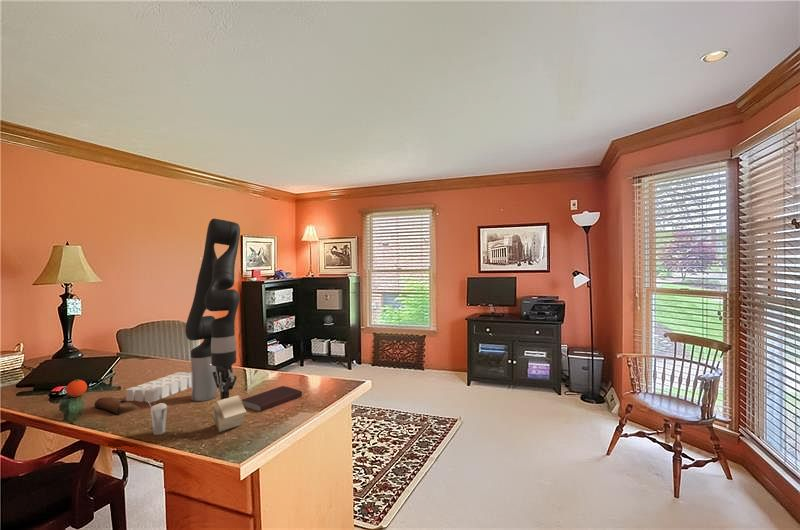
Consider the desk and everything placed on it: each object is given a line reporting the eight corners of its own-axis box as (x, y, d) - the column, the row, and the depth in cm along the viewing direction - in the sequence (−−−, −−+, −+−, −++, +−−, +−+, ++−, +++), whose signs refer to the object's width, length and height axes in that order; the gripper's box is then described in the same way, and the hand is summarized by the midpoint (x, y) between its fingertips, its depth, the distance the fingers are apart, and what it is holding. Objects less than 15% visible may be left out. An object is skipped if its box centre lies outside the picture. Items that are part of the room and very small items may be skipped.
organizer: (125, 389, 157) (191, 367, 191) (125, 401, 157) (192, 377, 191) (151, 391, 154) (214, 368, 188) (151, 403, 154) (214, 378, 188)
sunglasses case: (142, 407, 148) (132, 395, 145) (125, 422, 142) (114, 410, 139) (118, 401, 156) (108, 389, 153) (101, 415, 151) (90, 403, 148)
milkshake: (153, 430, 126) (152, 399, 126) (170, 429, 126) (169, 398, 126) (145, 436, 121) (144, 404, 121) (163, 435, 122) (162, 403, 122)
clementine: (66, 395, 165) (66, 379, 165) (87, 392, 170) (87, 376, 170) (65, 400, 159) (65, 383, 159) (87, 396, 163) (86, 379, 163)
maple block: (211, 415, 127) (216, 400, 124) (232, 409, 132) (238, 395, 129) (219, 432, 123) (224, 418, 120) (240, 425, 128) (246, 411, 125)
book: (302, 398, 156) (302, 390, 156) (260, 413, 140) (260, 404, 140) (282, 393, 163) (282, 385, 163) (240, 407, 147) (240, 398, 147)
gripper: (244, 350, 126) (245, 403, 126) (225, 345, 135) (227, 395, 135) (221, 354, 121) (222, 409, 121) (203, 349, 129) (204, 401, 129)
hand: (224, 402), depth 128 cm, fingers closed
